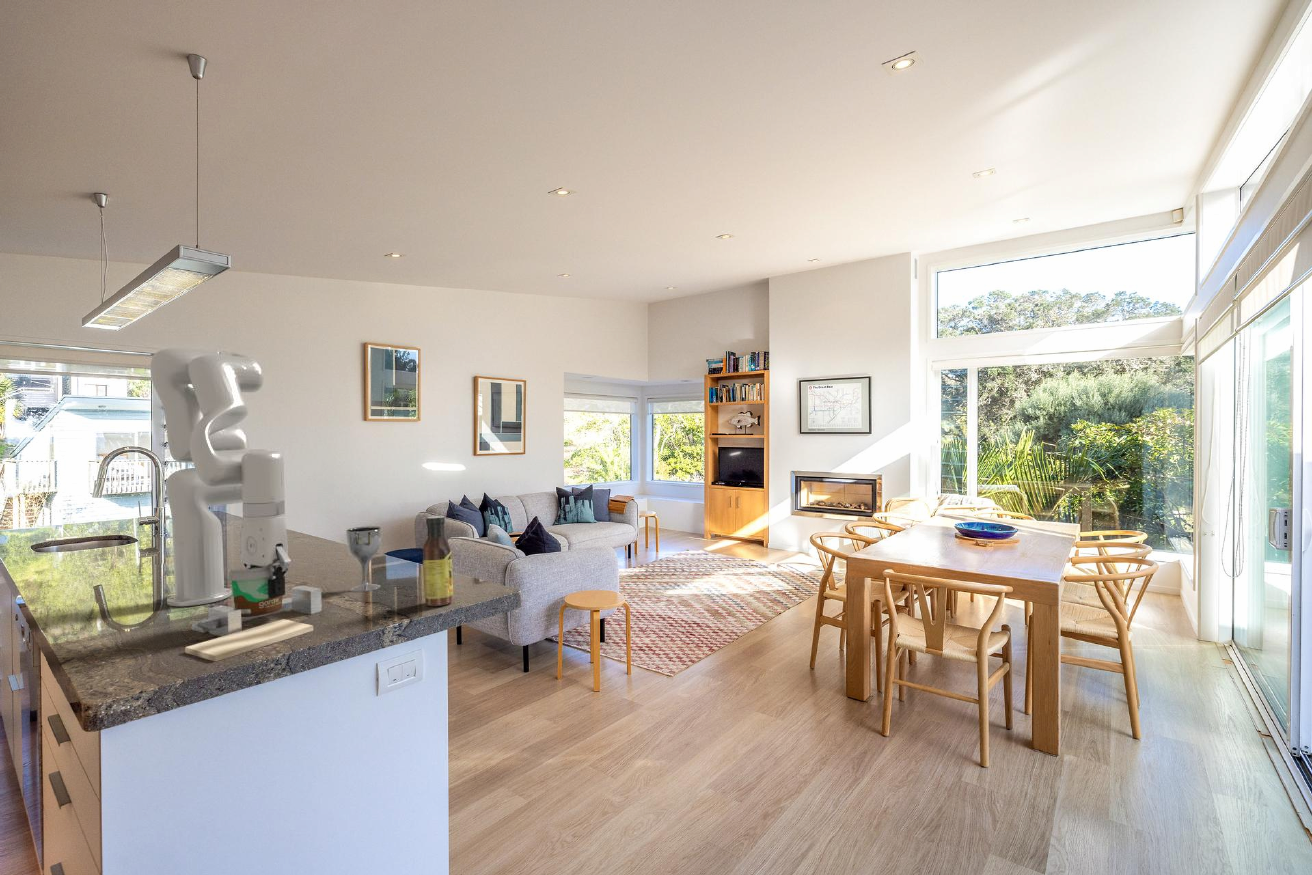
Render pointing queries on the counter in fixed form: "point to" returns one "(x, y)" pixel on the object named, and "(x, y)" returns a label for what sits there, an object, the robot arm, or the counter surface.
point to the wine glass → (364, 550)
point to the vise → (230, 618)
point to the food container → (253, 592)
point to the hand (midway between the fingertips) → (266, 593)
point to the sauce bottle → (437, 564)
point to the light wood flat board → (248, 640)
